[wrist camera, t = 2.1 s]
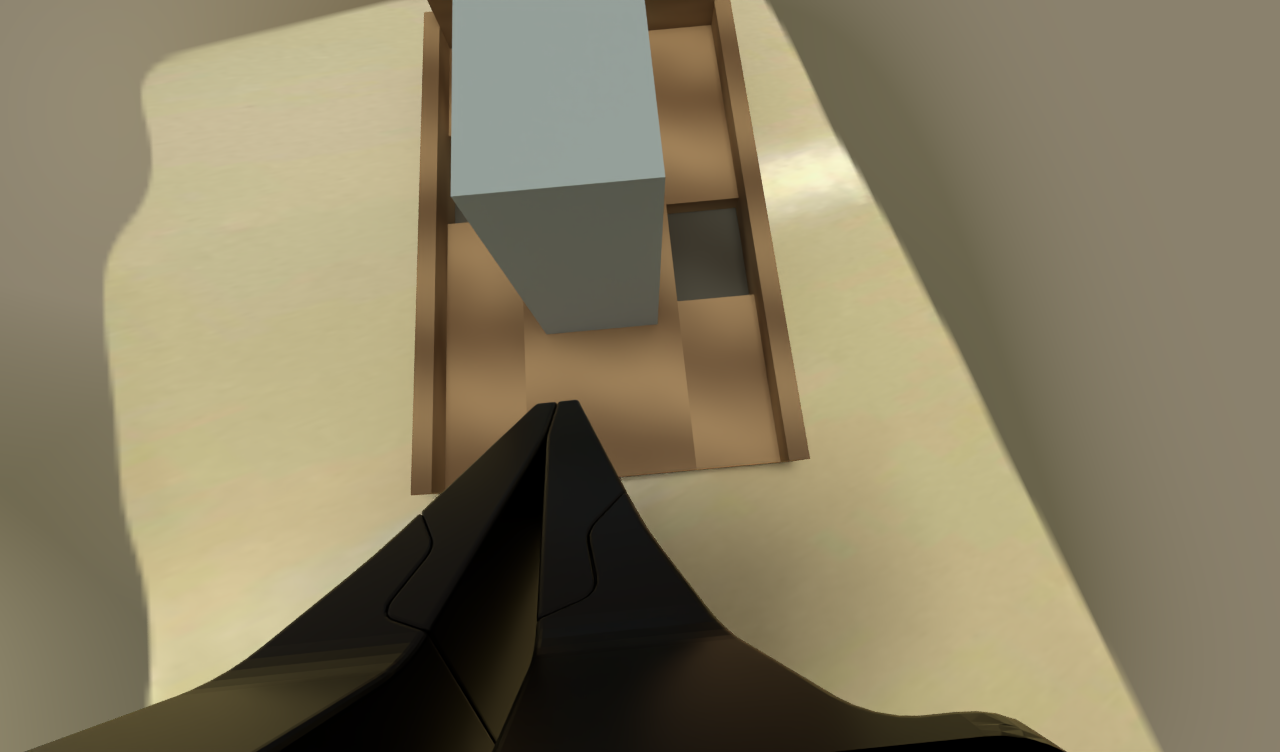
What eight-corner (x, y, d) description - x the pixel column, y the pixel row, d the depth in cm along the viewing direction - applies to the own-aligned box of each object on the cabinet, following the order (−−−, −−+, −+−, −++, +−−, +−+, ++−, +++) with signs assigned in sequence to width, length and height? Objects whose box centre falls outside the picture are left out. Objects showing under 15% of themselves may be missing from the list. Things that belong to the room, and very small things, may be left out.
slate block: (657, 324, 20) (665, 176, 10) (546, 334, 20) (450, 196, 10) (641, 170, 22) (635, -77, 12) (539, 179, 22) (453, -61, 12)
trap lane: (792, 461, 20) (827, 455, 16) (436, 493, 20) (384, 496, 16) (720, 27, 25) (734, -56, 21) (443, 52, 25) (405, -27, 21)
